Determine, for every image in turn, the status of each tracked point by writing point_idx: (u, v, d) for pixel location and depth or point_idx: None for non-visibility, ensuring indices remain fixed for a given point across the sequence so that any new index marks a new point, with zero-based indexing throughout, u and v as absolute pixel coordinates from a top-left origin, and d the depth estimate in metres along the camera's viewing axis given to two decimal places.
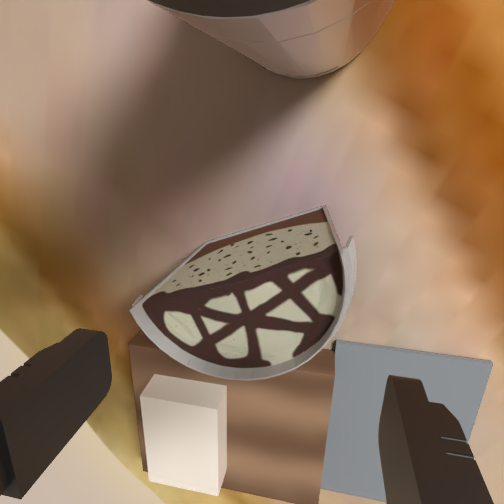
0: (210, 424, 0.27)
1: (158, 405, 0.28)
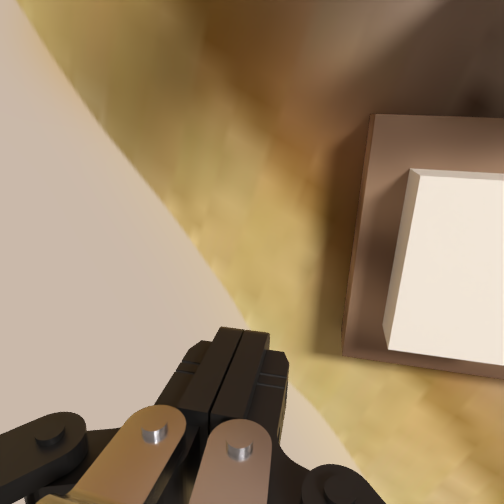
0: None
1: (452, 191, 0.16)
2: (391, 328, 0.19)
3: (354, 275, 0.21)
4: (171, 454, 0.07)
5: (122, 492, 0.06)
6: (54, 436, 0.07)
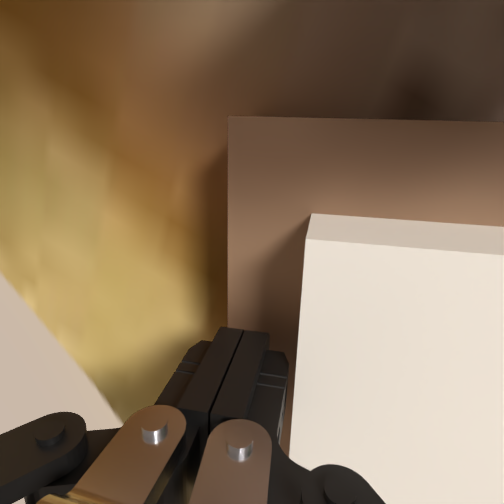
0: None
1: (369, 270, 0.08)
2: None
3: None
4: (171, 454, 0.07)
5: (122, 492, 0.06)
6: (54, 436, 0.07)
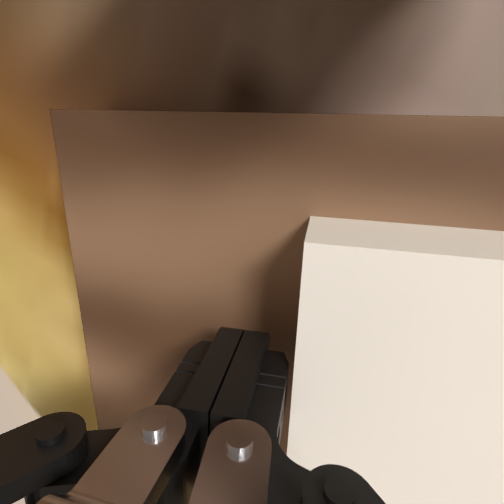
0: None
1: (366, 273, 0.08)
2: None
3: (88, 352, 0.14)
4: (171, 454, 0.07)
5: (122, 492, 0.06)
6: (54, 436, 0.07)
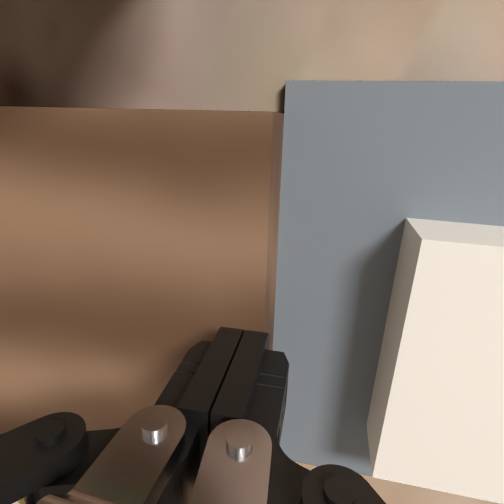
0: None
1: None
2: None
3: None
4: (171, 454, 0.07)
5: (122, 492, 0.06)
6: (54, 436, 0.07)
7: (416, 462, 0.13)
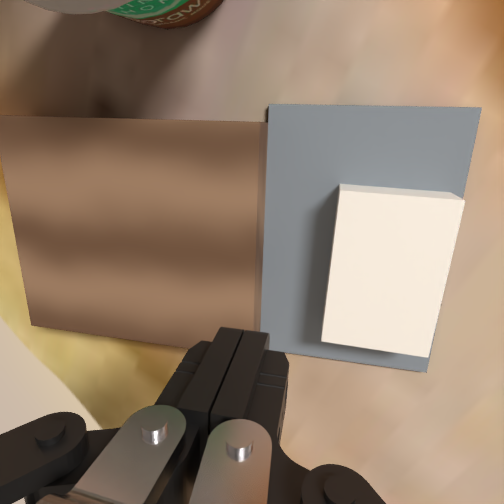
0: None
1: None
2: None
3: (19, 253, 0.25)
4: (171, 454, 0.07)
5: (122, 492, 0.06)
6: (54, 436, 0.07)
7: (346, 328, 0.22)
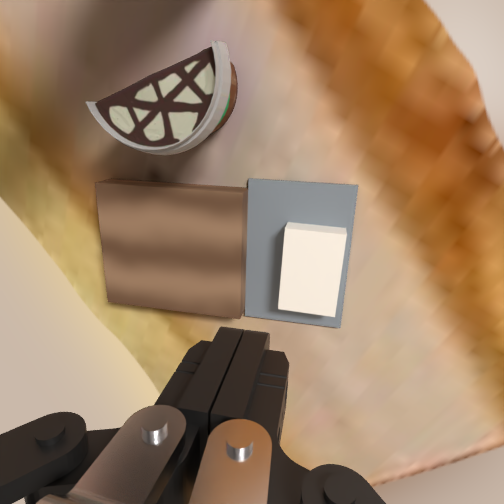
0: None
1: None
2: None
3: (103, 259, 0.42)
4: (171, 454, 0.07)
5: (122, 492, 0.06)
6: (54, 436, 0.07)
7: (291, 301, 0.39)
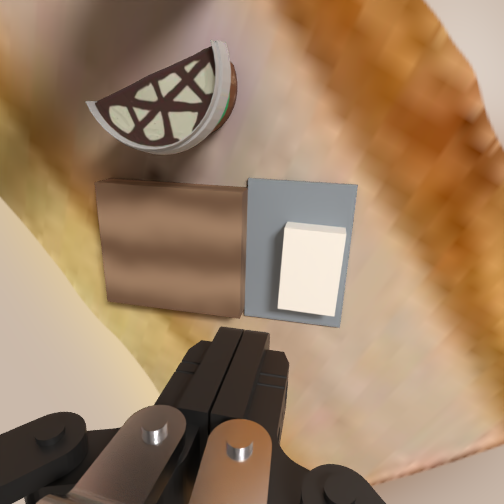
0: None
1: None
2: None
3: (103, 258, 0.42)
4: (171, 454, 0.07)
5: (122, 492, 0.06)
6: (54, 436, 0.07)
7: (290, 301, 0.39)
